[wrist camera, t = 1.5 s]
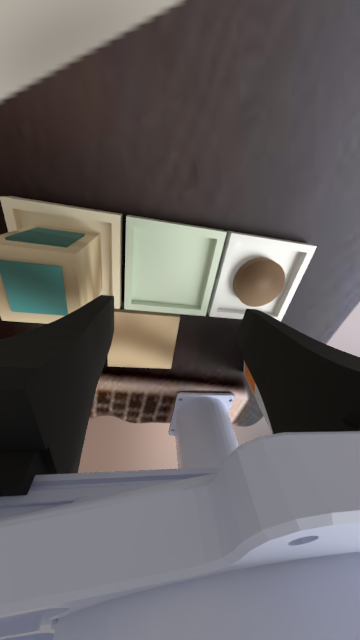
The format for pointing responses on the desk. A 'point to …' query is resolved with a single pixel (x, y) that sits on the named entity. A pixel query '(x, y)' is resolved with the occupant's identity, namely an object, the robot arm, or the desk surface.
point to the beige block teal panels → (48, 272)
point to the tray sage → (170, 265)
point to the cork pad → (143, 339)
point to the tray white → (249, 247)
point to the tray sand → (75, 218)
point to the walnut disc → (258, 281)
